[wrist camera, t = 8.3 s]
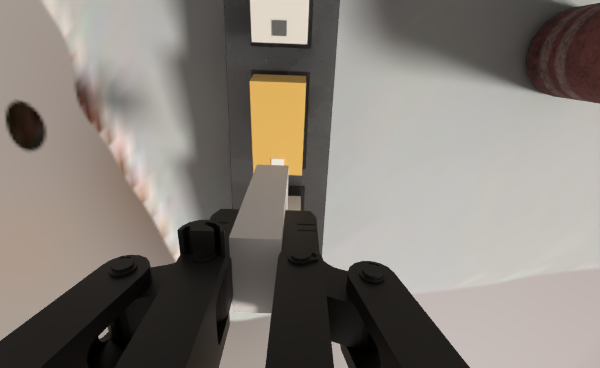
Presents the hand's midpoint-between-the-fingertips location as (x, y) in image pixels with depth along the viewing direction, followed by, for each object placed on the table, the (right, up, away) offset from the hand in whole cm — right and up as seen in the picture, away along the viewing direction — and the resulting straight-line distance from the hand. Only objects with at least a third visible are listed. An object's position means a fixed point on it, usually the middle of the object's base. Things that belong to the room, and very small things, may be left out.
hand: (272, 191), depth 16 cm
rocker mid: (0, +4, +5) cm, 6 cm away
